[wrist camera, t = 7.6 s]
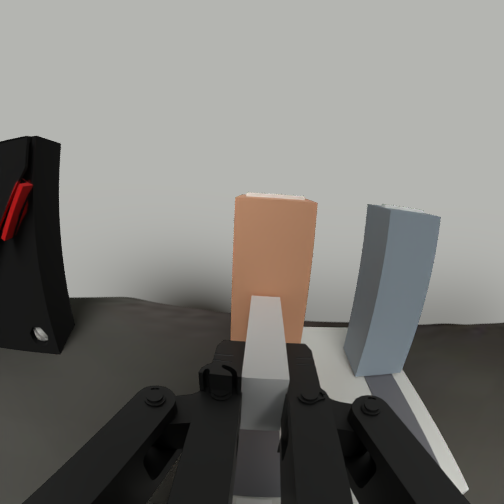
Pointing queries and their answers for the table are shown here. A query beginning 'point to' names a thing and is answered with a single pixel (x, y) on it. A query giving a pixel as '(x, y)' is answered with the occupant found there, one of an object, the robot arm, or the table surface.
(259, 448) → the switch plate
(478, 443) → the table surface
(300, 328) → the terracotta switch
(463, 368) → the table surface
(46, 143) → the electrical component
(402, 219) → the slate switch
